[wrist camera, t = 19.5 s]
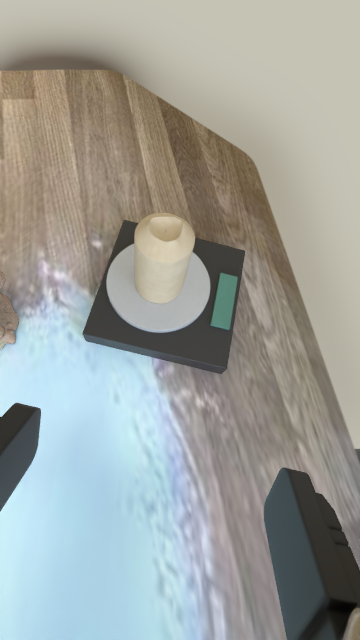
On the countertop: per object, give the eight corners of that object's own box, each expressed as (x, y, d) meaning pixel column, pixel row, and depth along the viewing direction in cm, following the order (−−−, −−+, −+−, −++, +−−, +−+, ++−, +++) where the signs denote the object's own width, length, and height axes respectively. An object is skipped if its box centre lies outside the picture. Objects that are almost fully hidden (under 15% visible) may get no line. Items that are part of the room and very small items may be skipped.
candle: (174, 258, 38) (185, 196, 29) (189, 297, 36) (206, 245, 27) (129, 268, 37) (126, 206, 28) (142, 309, 35) (144, 258, 26)
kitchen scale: (239, 260, 43) (247, 246, 40) (221, 374, 37) (228, 367, 34) (124, 231, 43) (123, 215, 40) (85, 341, 36) (81, 330, 33)
